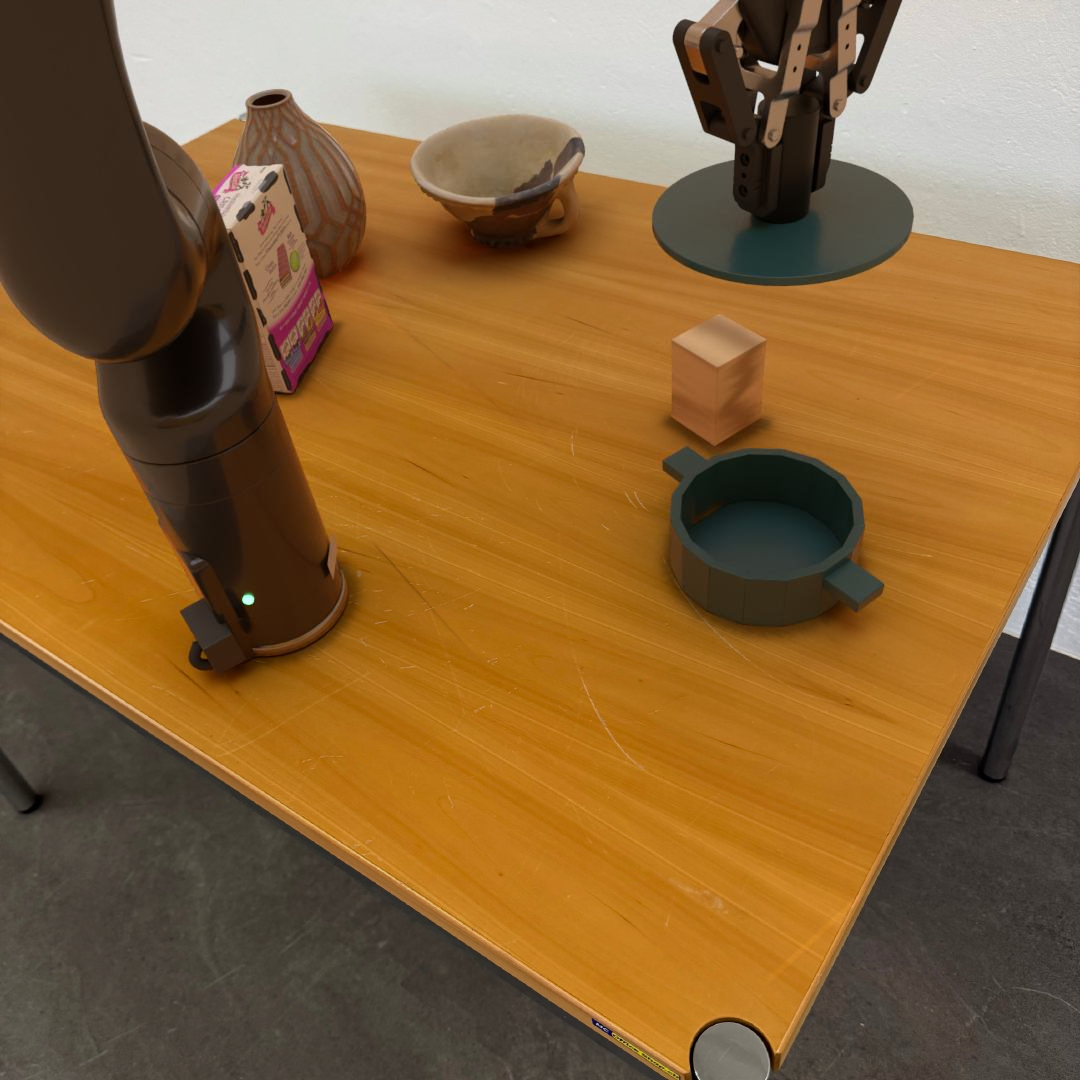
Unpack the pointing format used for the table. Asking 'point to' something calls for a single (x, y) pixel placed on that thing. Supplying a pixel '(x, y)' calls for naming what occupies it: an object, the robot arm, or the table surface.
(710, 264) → the lid
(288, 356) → the candy bar box
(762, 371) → the block
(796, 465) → the pot
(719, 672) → the table surface
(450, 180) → the bowl
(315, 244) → the vase
